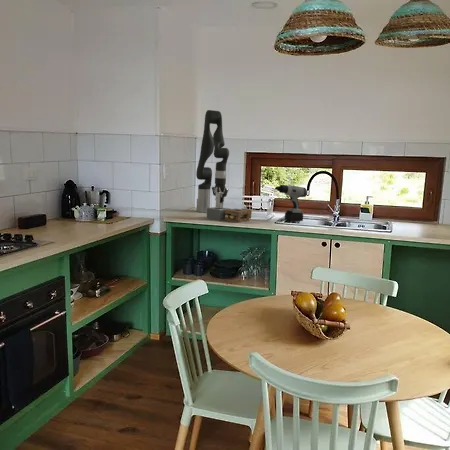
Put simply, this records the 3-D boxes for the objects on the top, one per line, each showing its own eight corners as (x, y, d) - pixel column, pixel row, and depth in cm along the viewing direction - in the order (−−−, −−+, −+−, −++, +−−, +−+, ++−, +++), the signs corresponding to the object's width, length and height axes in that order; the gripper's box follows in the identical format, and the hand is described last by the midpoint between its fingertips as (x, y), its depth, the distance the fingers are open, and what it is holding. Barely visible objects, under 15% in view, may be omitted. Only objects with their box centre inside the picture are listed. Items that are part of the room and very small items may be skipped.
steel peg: (215, 214, 332) (216, 192, 329) (218, 213, 335) (219, 192, 332) (219, 214, 330) (220, 192, 327) (222, 214, 332) (223, 192, 330)
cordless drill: (271, 219, 336) (273, 184, 332) (300, 218, 346) (302, 184, 342) (276, 221, 329) (279, 185, 325) (306, 220, 340) (309, 185, 335)
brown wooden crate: (242, 216, 338) (242, 208, 337) (251, 218, 333) (251, 209, 332) (224, 219, 323) (224, 210, 322) (233, 221, 318) (233, 212, 317)
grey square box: (206, 218, 332) (206, 208, 331) (218, 216, 341) (218, 206, 340) (219, 220, 324) (219, 210, 323) (231, 218, 333) (231, 208, 332)
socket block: (235, 218, 336) (236, 208, 335) (249, 220, 328) (249, 210, 327) (224, 220, 327) (224, 209, 326) (238, 222, 319) (238, 212, 318)
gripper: (231, 178, 326) (230, 203, 329) (216, 176, 335) (215, 200, 338) (224, 178, 321) (223, 203, 324) (209, 176, 330) (208, 201, 333)
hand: (219, 202), depth 331 cm, fingers closed on steel peg, 3 cm apart
